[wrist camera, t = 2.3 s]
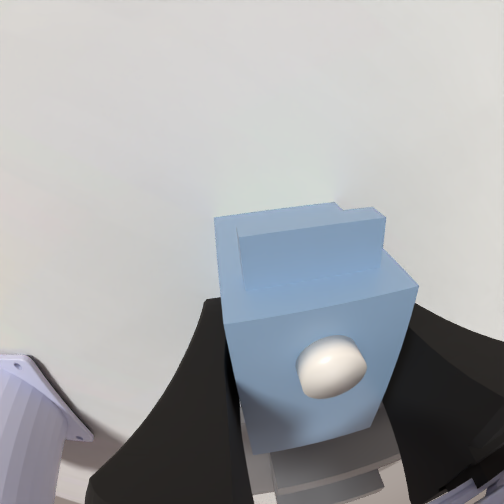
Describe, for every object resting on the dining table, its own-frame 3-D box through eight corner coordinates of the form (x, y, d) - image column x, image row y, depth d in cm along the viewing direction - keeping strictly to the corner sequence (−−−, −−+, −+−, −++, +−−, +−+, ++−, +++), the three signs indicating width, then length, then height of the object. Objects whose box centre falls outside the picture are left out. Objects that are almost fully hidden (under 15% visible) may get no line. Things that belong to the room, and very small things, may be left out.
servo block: (239, 367, 13) (258, 480, 8) (208, 181, 9) (213, 289, 4) (325, 351, 14) (368, 454, 9) (334, 167, 9) (448, 247, 5)
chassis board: (242, 487, 22) (248, 527, 18) (209, 411, 15) (216, 484, 11) (385, 451, 23) (400, 486, 19) (439, 354, 16) (474, 404, 12)
